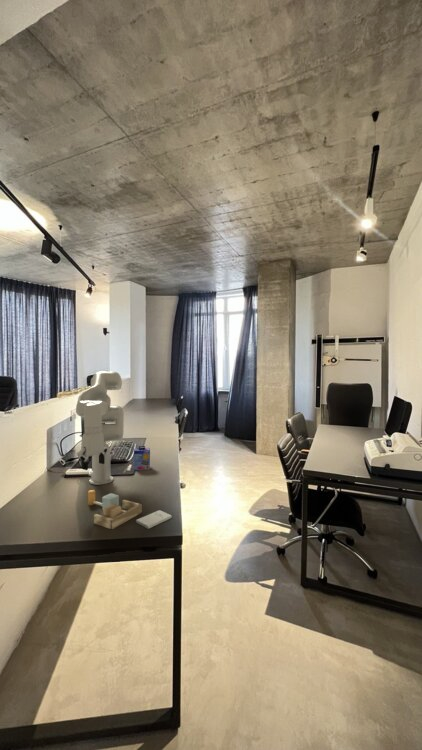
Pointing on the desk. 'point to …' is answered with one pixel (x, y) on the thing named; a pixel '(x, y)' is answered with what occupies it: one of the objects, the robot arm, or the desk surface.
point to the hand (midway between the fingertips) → (93, 466)
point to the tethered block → (103, 499)
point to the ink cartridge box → (141, 458)
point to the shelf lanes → (111, 523)
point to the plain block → (112, 511)
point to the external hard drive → (153, 519)
